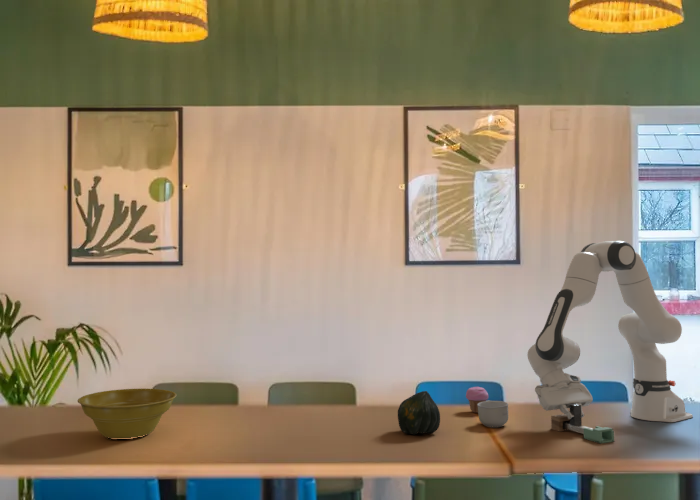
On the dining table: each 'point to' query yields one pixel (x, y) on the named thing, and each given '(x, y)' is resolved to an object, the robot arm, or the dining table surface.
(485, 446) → the dining table surface
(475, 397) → the cupcake
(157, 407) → the planter bowl
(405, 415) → the squash
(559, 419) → the socket block
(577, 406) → the two-tone rectangular rod
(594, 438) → the green slotted block
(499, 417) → the teacup
